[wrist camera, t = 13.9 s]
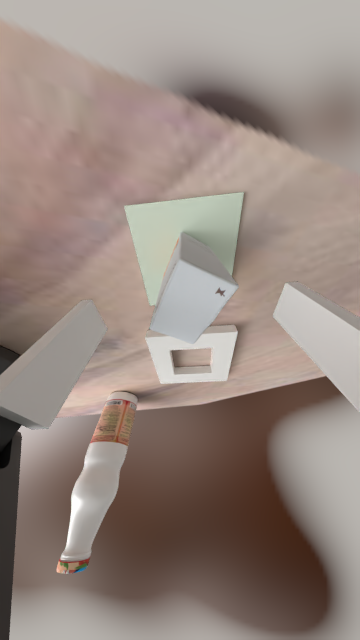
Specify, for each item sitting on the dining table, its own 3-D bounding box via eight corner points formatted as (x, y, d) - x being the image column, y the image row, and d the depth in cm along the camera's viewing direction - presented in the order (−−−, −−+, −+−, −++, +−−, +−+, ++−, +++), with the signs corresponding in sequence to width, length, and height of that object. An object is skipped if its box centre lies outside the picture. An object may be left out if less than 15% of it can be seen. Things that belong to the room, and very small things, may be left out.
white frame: (161, 376, 38) (160, 383, 37) (147, 330, 28) (145, 337, 26) (224, 373, 37) (226, 380, 36) (234, 324, 27) (237, 331, 25)
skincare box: (180, 229, 17) (180, 254, 7) (210, 246, 18) (243, 286, 9) (162, 275, 20) (147, 330, 11) (188, 286, 21) (195, 346, 12)
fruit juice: (143, 397, 46) (110, 570, 24) (129, 405, 50) (89, 559, 28) (117, 387, 42) (47, 584, 20) (103, 397, 46) (34, 568, 24)
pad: (150, 303, 24) (149, 305, 23) (125, 206, 16) (124, 205, 16) (227, 297, 23) (228, 299, 23) (241, 192, 15) (243, 191, 15)
